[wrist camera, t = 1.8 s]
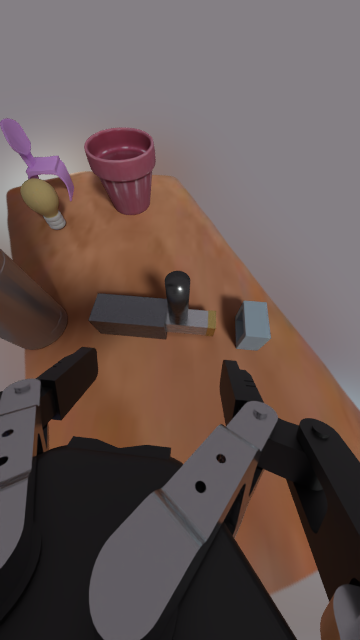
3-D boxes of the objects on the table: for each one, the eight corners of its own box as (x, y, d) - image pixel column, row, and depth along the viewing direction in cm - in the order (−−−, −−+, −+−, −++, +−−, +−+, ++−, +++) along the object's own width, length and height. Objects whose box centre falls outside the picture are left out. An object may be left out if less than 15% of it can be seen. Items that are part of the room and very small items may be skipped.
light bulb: (39, 230, 46) (5, 185, 37) (57, 214, 49) (30, 169, 40) (60, 238, 45) (30, 193, 36) (78, 221, 48) (54, 176, 39)
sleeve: (100, 333, 34) (88, 320, 30) (108, 308, 36) (97, 293, 32) (166, 339, 33) (163, 327, 29) (169, 314, 36) (168, 299, 31)
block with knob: (105, 326, 34) (70, 283, 23) (110, 311, 35) (79, 263, 24) (212, 336, 33) (228, 295, 22) (213, 319, 34) (227, 274, 23)
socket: (236, 348, 33) (245, 336, 28) (235, 317, 35) (243, 300, 30) (257, 350, 32) (270, 338, 28) (254, 318, 35) (266, 302, 30)
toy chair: (73, 203, 51) (34, 126, 38) (38, 206, 51) (-13, 130, 37) (76, 185, 55) (42, 110, 41) (44, 188, 54) (-1, 112, 41)
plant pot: (167, 213, 49) (163, 151, 37) (112, 228, 46) (90, 166, 35) (150, 183, 55) (141, 122, 43) (100, 195, 53) (78, 133, 41)
